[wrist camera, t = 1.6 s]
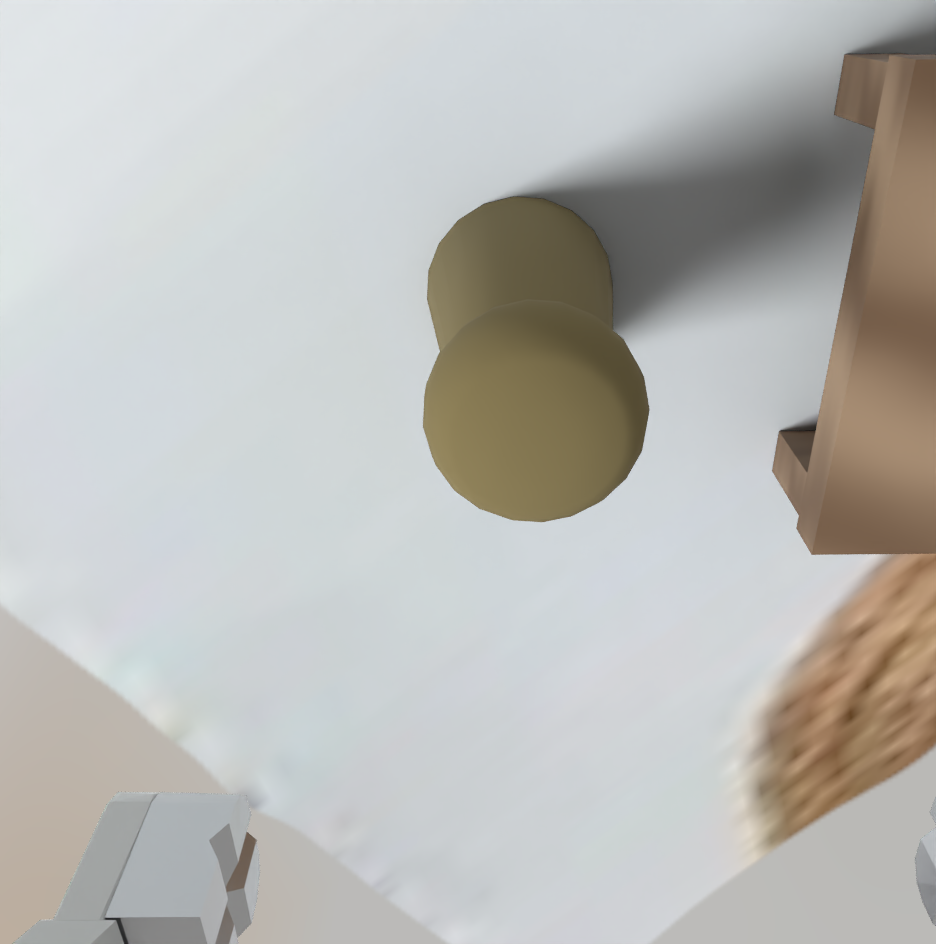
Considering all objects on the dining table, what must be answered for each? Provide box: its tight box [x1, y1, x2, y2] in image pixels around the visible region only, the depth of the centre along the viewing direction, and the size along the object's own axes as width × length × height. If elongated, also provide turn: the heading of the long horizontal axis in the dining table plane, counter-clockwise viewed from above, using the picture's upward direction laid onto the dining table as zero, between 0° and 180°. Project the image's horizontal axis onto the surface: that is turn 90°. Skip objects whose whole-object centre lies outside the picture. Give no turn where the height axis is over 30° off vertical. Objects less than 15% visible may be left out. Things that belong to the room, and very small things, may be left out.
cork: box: [423, 197, 649, 522], centre depth 23 cm, size 6×6×11 cm
